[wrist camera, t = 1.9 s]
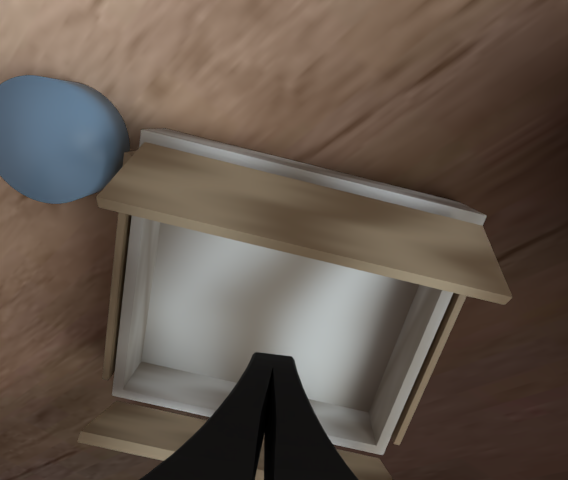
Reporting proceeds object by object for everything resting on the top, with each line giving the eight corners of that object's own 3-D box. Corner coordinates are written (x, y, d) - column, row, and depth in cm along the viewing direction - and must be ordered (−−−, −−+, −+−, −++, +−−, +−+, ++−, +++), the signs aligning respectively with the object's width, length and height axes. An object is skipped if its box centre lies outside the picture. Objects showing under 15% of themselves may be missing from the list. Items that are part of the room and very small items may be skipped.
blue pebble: (135, 96, 16) (108, 92, 14) (126, 203, 18) (100, 215, 15) (23, 69, 16) (-23, 61, 14) (24, 179, 17) (-17, 188, 15)
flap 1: (482, 225, 13) (512, 297, 11) (476, 233, 14) (504, 304, 11) (144, 141, 13) (96, 196, 10) (145, 151, 13) (98, 207, 11)
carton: (469, 204, 17) (500, 219, 14) (381, 417, 21) (392, 459, 18) (154, 125, 16) (126, 126, 14) (125, 360, 20) (100, 395, 18)
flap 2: (378, 458, 17) (407, 502, 14) (377, 467, 17) (405, 512, 14) (116, 400, 17) (80, 431, 13) (114, 409, 17) (77, 442, 13)
